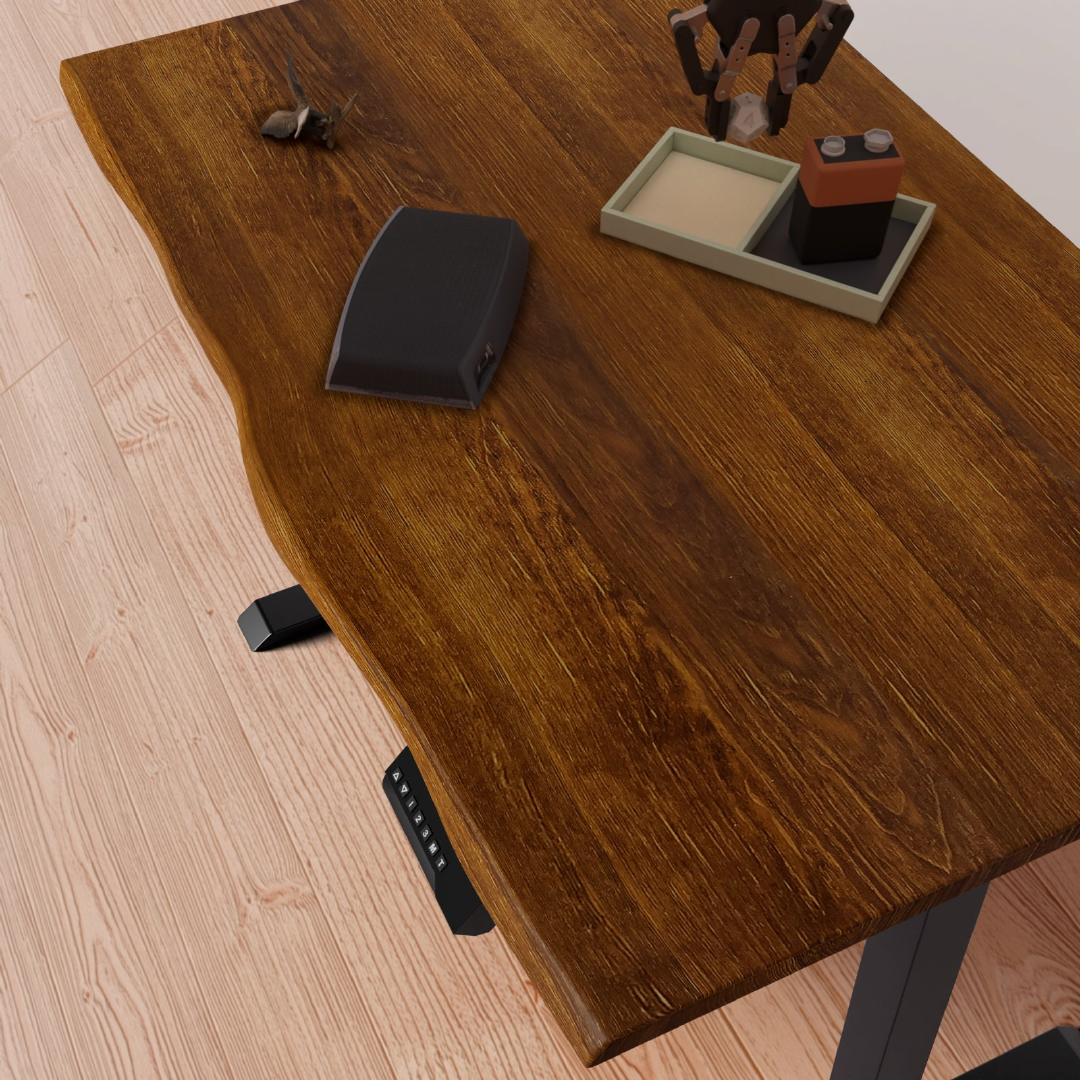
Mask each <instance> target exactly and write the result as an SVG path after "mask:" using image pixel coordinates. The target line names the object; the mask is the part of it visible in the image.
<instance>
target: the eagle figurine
mask: <svg viewBox="0 0 1080 1080" xmlns="http://www.w3.org/2000/svg"><path fill="white" fill-rule="evenodd" d="M286 59H287V65H286V66H287V67H286V81H287V86H288V89H289V91H290V93H291V95H292V97H293V99H294V100H295V102H296V104H297V107H296V109H295V111H290V110H277V111H275V112H274V113H272V114H271V115H270V116H269V118H268V119H267V120H266V121H265V122H264V123H263V124H262V126H261V127H260V129H259V134H260V135H271V136H274V138H276V139H282V138H283V139H286V138H287V137H289V136H290V135H291V133H293V132H294V131H295V130H296V133H295V135H294V139H297V138H298V137H299V135H300V133H301V130H307V131H308V132H309V133H311V134H312V135H314V136H316V137H318V138H320V139H322V140H323V141H325V140H326V142H325V143H326V147H327V148H328V149H329V150H333V149H334V145H335V142H336V137H337V135H338V132H339V129H340V127H341V125H342V123H343V122H344V120H345V118H346V117H347V116H348V114H349V113H350V111H351V110H352V108H353V107H354V106H355V104H356V102H357V100H358V96H359V93H358V92H355V93H354V95H353V96H352V98H350V99H349V101H348V102H347V104H346V105H345V106H344V107H343V109H342V106H341V105H340V104H339V103H337V102H336V100H332V104H331V109H330V114H326V113H323V112H320V111H319V109H318V108H316V107H315V106H313V105H311V103H310V102H309V99H308V96H307V93H306V91H305V89H304V87H303V85H302V84H301V82H300V81H298V79H297V75H296V73H295V70H294V65H293V58H292V55H291V54H290V52H289V51H288V50H286ZM322 126H324V128H325V131H326V132H325V131H324V130H323V129H321V128H320V127H322Z"/></svg>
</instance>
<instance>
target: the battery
mask: <svg viewBox="0 0 1080 1080" xmlns="http://www.w3.org/2000/svg"><path fill="white" fill-rule="evenodd" d="M802 150H803V151H802V154H801V155H802V157H801V160H800V164H801V166H800V171H799V176H798V182H797V187H796V192H795V198H794V203H793V208H792V213H791V219H790V224H789V230H788V234H789V236H790V239H791V241H792V244H793V246H794V248H795V251H796V253H797V256H798V258H799V260H800V262H801V263H804V264H807V263H818V262H828V261H839V260H850V259H860V258H870V257H877V256H879V255H880V254H881V251H882V248H883V244H884V241H885V237H886V233H887V230H888V226H889V222H890V219H891V215H892V211H893V207H894V204H895V200H896V196H897V193H899V189H900V185H901V182H902V177H903V174H904V170H905V166H906V160H905V158H904V156H903V154H902V153H901V151H900V149H899V147H898V145H897V143H896V142H895V139H894V137H893V135H892V133H891V132H890V130H886V129H881V128H877V127H874V128H872V129H870V130H868V131H866V132H857V133H848V134H837V135H826V136H824V135H823V136H813V137H809V138H807V139H806V140H805V141H804V144H803V149H802Z"/></svg>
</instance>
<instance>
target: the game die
mask: <svg viewBox="0 0 1080 1080" xmlns="http://www.w3.org/2000/svg"><path fill="white" fill-rule="evenodd" d="M765 102H766V100H765V99H764V98H763V97H762V96H760V95H757V94H754V93H751V92H749V91H745V92H743V93H741V94H739V95H737V96H734V97H733V98H732V99H731V103H730V111H729V119H728V127H727V135H728V136H729V138H730V139H733V140H736V141H739V142H741V143H744V144H747V143H749V142H751V141H753V140H755V139H758V138H760V136H761V135H763V133H764V132H766V130H765V129H766V128H767V127H768V126H769V110H768V107H767V105H766V103H765Z"/></svg>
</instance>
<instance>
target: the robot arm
mask: <svg viewBox="0 0 1080 1080" xmlns="http://www.w3.org/2000/svg"><path fill="white" fill-rule="evenodd" d="M813 17H815V18H814V20H815V24H814V26H813V28H812V30H811V32H810V34H809V35H808V38H807V39H806V41H805V44H804V45H803V47H802V49H801V51H800V53H799V54H798V56H797V44H796V38H797V37H798V35H799V34H800V33H801V32H802V31H803V30H804V28H805V27H806V26H807V25H808V24H809V23H810V22H811V20H812V19H813ZM666 19H667V23H668V26H669V30H670V32H671V35H672V39H673V42H674V45H675V49H676V52H677V56H678V58H679V61H680V64H681V67H682V70H683V74H684V77H685V79H686V81H687V84H688V87H689V88H690V91H691V93H692V94H693V95H694V96H696V97H700V96H703V95H705V96H706V97H705V107H704V116H703V122H704V125H705V127H706V130H707V132H708V134H709V136H712V138H713V139H715V141H716V142H722V141H723V142H726V140H727V135H728V133H727V127H728V119H729V111H730V103H731V101H732V99H731V98H730V95H731V92H732V90H733V86H734V84H735V82H736V78H737V76H738V75H741V73H742V71H743V68H744V65H745V62H746V61H747V58H749V57H752V56H754V55H758V54H765V55H770V57H771V58H770V60H771V69H772V70H771V71H772V75H773V77H772V79H770V80H768V81H767V82H768V83H767V89H766V96H765V103H766V105H767V107H768V110H769V126H768V127H767V128H766V129H765V133H766V134H767V136H768V138H769V137H770V138H771V137H777V136H780V131H781V129H785V128H786V125H788V123H789V117H790V110H791V105H792V99H793V94H794V92H795V91H796V90H797V88H798V87H799V86H802V85H804V84H807V85H815V84H817V83H818V82H819V81H820V80H821V79H822V76H823V75H824V73H825V71H826V69H827V68H828V66H829V64H830V62H831V61H832V59H833V57H834V55H835V53H836V52H837V50H838V48H839V46H840V44H841V43H842V41H843V39H844V37H845V35H846V34H847V32H848V30H849V28H850V26H851V24H852V23H853V21H854V19H855V12H854V10H853V9H852V7H851V5H850V3H849V2H848V0H703V1H702V3H701V4H700V5H697V6H695V7H693V8H691V9H689V10H686V11H684V12H683V10H682V9H681V8H678V7H676V8H672V9H671V10H669V11H668V13H667V16H666ZM707 23H710V25H711V26H712V28H713V29H714V31H715V33H716V34H717V36H716V40H715V43H714V46H713V57H712V59H711V63H710V66H709V69H704V68H703V66H702V63H701V59H700V56H699V52H698V50H697V46H696V44H699V43H700V42H701V40H702V38H703V35H704V33H703V29H704V26H705V25H706V24H707Z"/></svg>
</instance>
